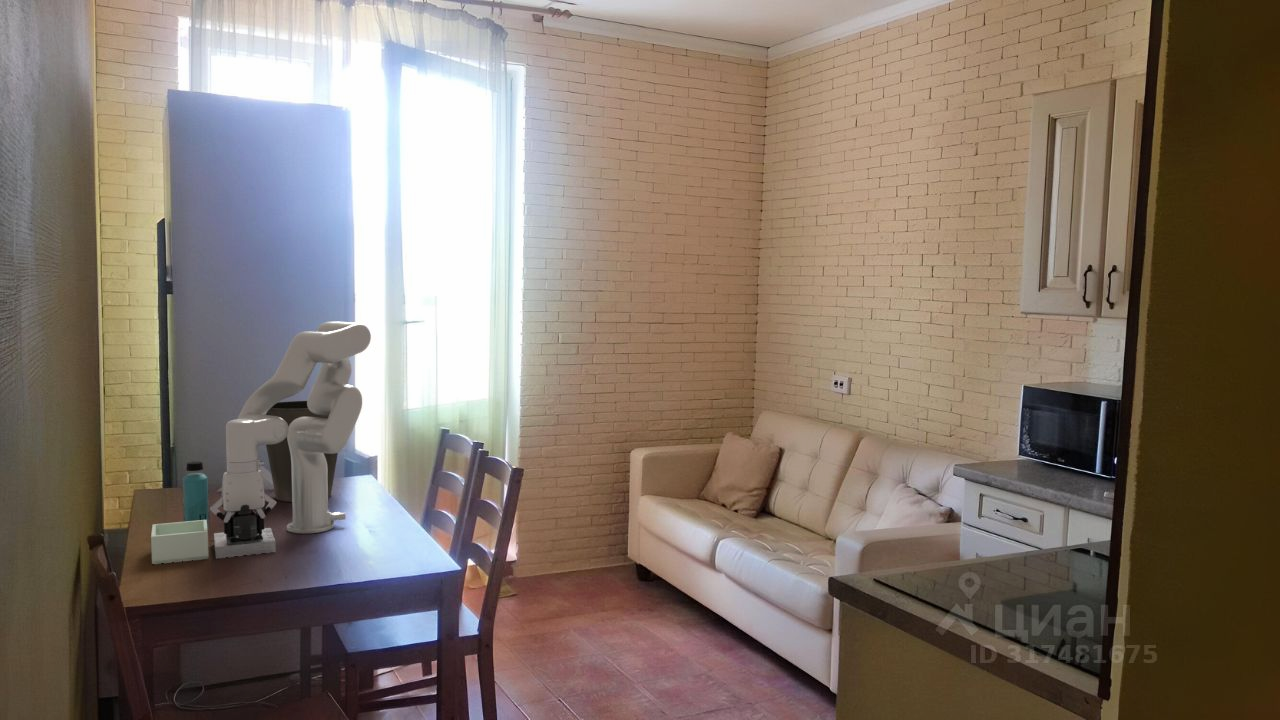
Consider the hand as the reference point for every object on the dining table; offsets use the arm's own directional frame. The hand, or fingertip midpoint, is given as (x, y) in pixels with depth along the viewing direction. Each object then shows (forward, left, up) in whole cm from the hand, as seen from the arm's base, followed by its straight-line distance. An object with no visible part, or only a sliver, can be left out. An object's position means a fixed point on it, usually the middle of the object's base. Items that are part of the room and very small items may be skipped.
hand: (244, 533), depth 247 cm
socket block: (0, 0, -4) cm, 4 cm away
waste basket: (-21, -55, -4) cm, 59 cm away
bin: (+15, 0, -4) cm, 16 cm away
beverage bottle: (+11, -20, -4) cm, 23 cm away
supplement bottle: (0, 0, -4) cm, 4 cm away
